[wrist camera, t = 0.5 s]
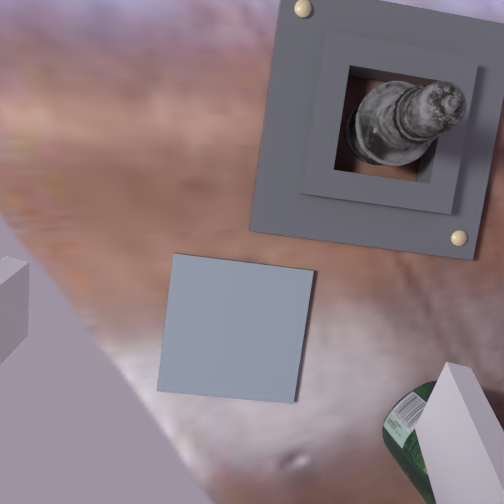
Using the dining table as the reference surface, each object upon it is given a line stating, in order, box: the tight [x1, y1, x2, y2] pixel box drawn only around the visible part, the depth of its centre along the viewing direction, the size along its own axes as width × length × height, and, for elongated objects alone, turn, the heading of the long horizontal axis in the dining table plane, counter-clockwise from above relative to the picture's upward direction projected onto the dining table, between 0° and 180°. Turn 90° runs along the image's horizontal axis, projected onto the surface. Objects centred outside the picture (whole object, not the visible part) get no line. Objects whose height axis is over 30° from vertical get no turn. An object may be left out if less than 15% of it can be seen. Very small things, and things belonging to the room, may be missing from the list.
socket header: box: [249, 0, 504, 260], centre depth 36 cm, size 18×18×2 cm
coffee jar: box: [382, 382, 504, 504], centre depth 32 cm, size 10×8×19 cm
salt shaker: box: [345, 81, 467, 166], centre depth 31 cm, size 6×6×12 cm
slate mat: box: [157, 253, 314, 404], centre depth 38 cm, size 11×11×1 cm
